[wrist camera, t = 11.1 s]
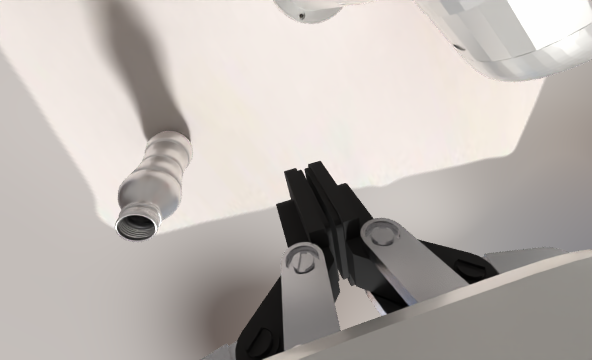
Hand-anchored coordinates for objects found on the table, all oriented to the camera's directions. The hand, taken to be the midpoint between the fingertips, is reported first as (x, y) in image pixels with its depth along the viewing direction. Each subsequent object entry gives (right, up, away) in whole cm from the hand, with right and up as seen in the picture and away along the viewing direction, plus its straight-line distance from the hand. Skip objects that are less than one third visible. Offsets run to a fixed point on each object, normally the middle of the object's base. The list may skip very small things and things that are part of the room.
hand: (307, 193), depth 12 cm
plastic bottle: (-21, +6, +30) cm, 37 cm away
